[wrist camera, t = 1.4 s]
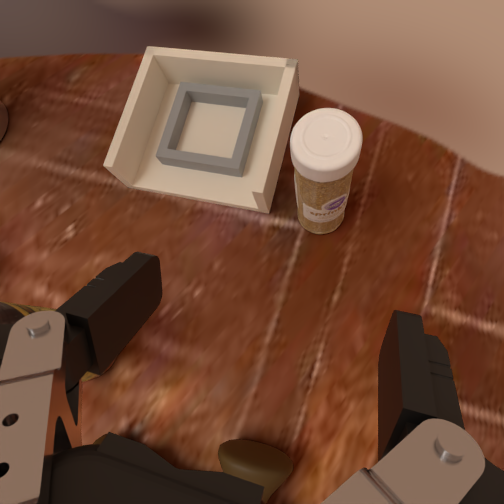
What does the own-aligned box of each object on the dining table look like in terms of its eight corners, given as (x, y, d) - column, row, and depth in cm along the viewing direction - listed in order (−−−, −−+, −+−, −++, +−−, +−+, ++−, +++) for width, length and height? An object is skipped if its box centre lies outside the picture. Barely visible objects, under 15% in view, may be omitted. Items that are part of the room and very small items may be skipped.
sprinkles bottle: (320, 244, 35) (325, 183, 22) (287, 213, 36) (274, 137, 23) (354, 213, 35) (379, 134, 22) (321, 182, 36) (326, 91, 23)
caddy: (128, 187, 40) (103, 165, 35) (165, 79, 43) (147, 46, 38) (269, 213, 36) (262, 193, 32) (299, 94, 39) (297, 59, 35)
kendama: (124, 399, 34) (337, 460, 30) (95, 510, 33) (317, 594, 28) (85, 411, 29) (340, 489, 24) (47, 546, 27) (316, 659, 22)
